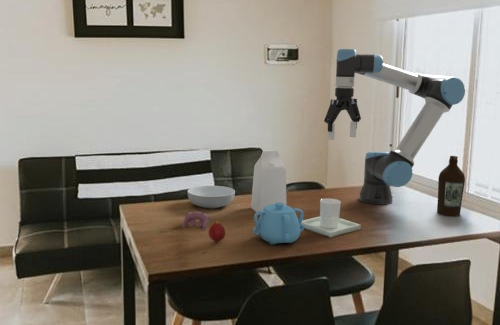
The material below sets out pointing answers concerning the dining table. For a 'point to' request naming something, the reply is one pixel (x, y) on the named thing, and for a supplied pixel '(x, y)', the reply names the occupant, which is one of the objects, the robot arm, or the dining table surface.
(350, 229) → the tray
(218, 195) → the serving bowl
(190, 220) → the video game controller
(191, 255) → the dining table surface
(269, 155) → the milk
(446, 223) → the dining table surface
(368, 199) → the robot arm
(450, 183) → the olive oil
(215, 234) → the onion
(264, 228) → the decorative pot
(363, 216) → the dining table surface
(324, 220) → the white cup
